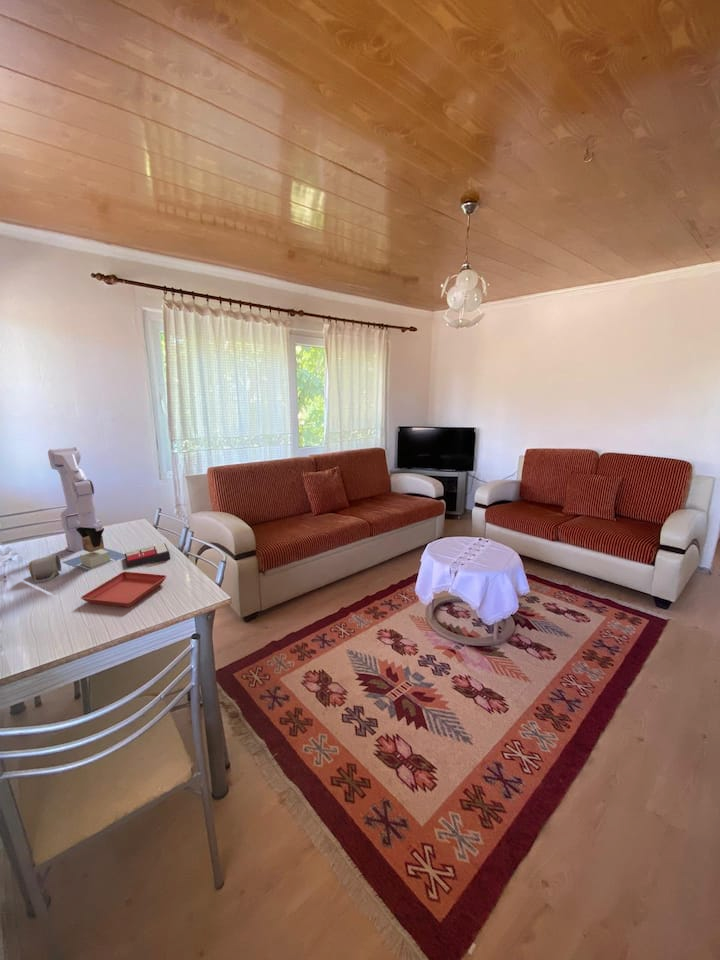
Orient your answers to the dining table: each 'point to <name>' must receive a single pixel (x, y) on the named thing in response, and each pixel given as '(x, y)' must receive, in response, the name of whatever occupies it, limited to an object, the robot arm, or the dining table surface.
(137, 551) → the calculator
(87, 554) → the sage base block
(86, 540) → the walnut block
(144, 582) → the plant saucer
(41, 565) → the ceramic mug
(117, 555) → the board
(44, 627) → the dining table surface
